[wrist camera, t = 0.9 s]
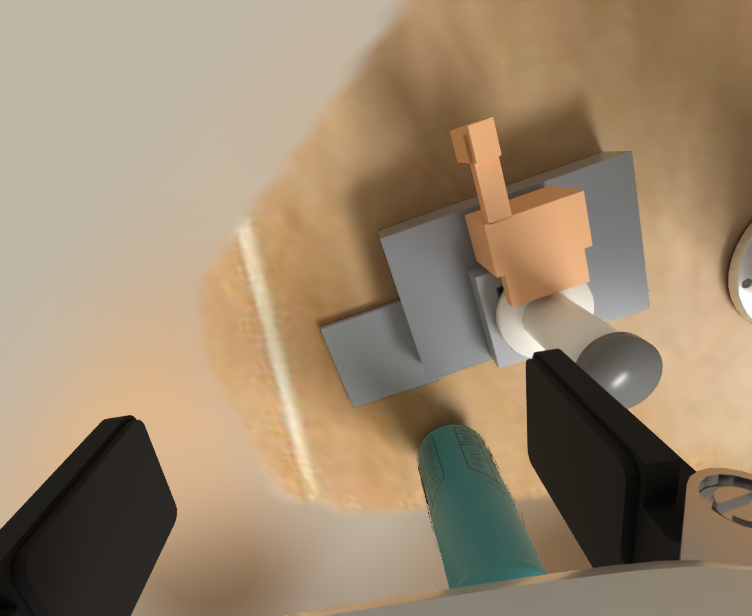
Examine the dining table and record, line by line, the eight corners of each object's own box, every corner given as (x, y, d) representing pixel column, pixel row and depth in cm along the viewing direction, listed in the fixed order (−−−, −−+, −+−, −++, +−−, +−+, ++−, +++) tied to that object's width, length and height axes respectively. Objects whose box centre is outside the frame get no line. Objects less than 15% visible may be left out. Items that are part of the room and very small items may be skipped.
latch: (533, 100, 27) (572, 88, 22) (563, 262, 30) (602, 280, 26) (442, 133, 27) (462, 127, 22) (483, 288, 31) (507, 312, 26)
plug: (560, 245, 30) (681, 296, 19) (575, 323, 33) (691, 408, 21) (475, 274, 31) (546, 340, 20) (495, 349, 33) (569, 446, 22)
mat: (411, 295, 35) (412, 298, 34) (438, 376, 37) (439, 379, 37) (320, 326, 35) (320, 329, 35) (353, 404, 38) (353, 407, 37)
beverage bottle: (399, 437, 39) (444, 693, 21) (457, 398, 38) (561, 630, 20) (439, 480, 41) (512, 749, 23) (495, 444, 40) (622, 695, 21)
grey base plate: (602, 151, 32) (651, 150, 27) (622, 294, 36) (668, 317, 31) (377, 230, 33) (381, 244, 28) (420, 360, 37) (432, 394, 32)
